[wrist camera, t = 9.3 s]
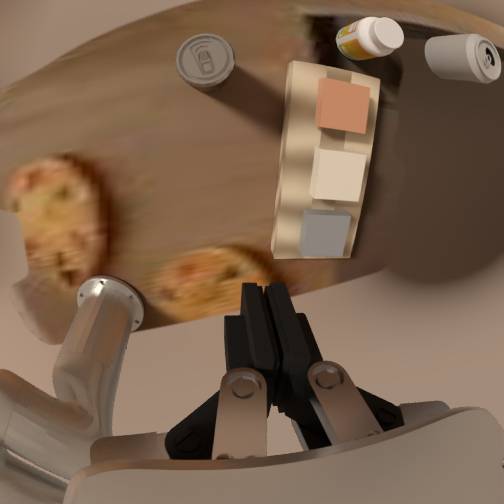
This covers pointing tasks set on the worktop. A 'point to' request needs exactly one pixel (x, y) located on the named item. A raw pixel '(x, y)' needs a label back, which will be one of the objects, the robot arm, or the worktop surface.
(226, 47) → the beer can
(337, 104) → the terracotta tile
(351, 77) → the button board
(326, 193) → the cream tile
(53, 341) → the worktop surface
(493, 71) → the can
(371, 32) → the supplement bottle
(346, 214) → the slate tile
